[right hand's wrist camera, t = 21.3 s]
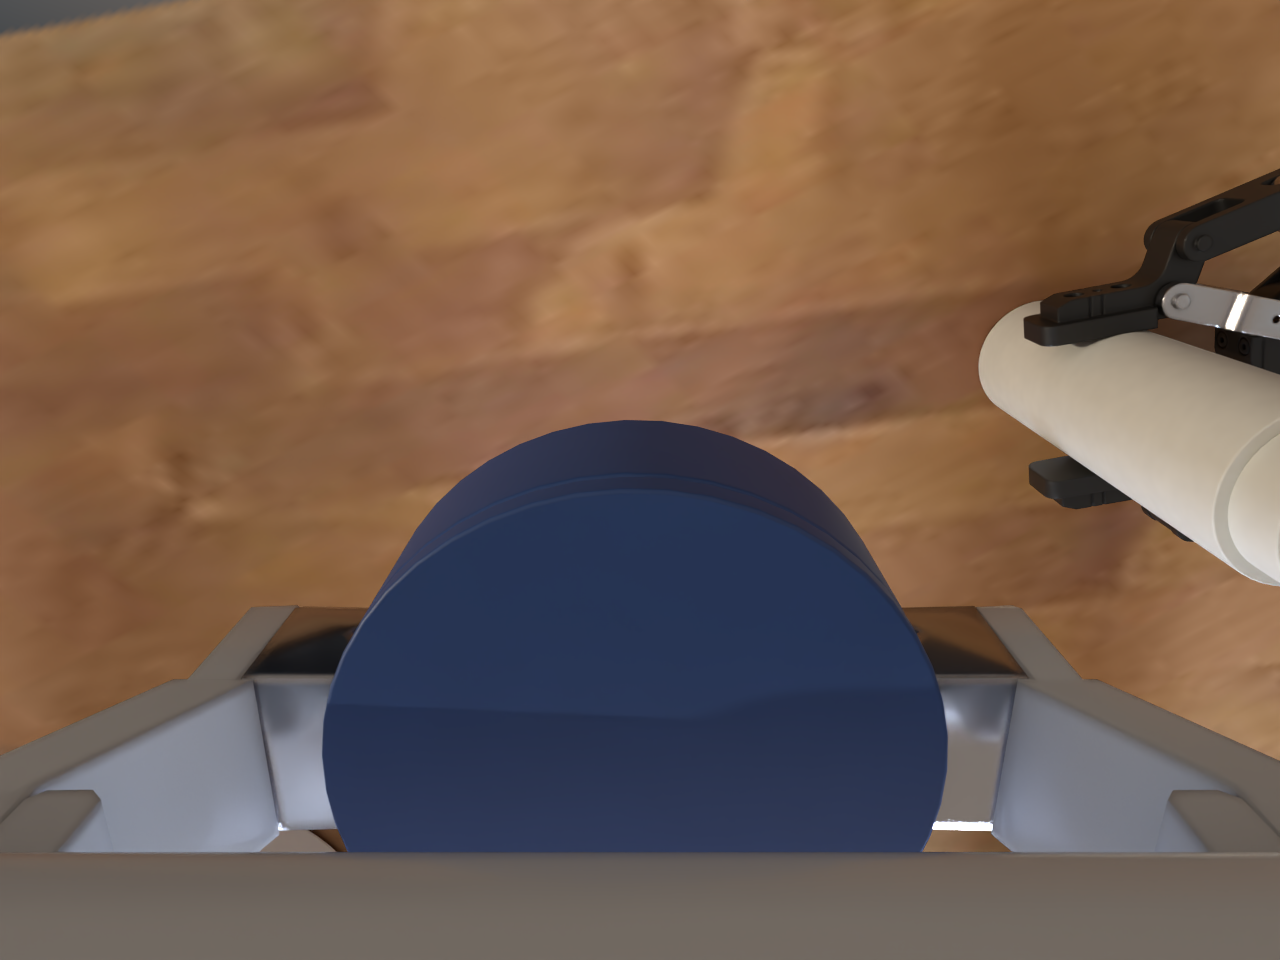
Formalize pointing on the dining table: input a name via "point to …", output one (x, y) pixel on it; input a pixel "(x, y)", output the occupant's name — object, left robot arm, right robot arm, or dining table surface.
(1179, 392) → the white bottle
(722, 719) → the lid
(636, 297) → the dining table surface
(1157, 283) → the left robot arm
